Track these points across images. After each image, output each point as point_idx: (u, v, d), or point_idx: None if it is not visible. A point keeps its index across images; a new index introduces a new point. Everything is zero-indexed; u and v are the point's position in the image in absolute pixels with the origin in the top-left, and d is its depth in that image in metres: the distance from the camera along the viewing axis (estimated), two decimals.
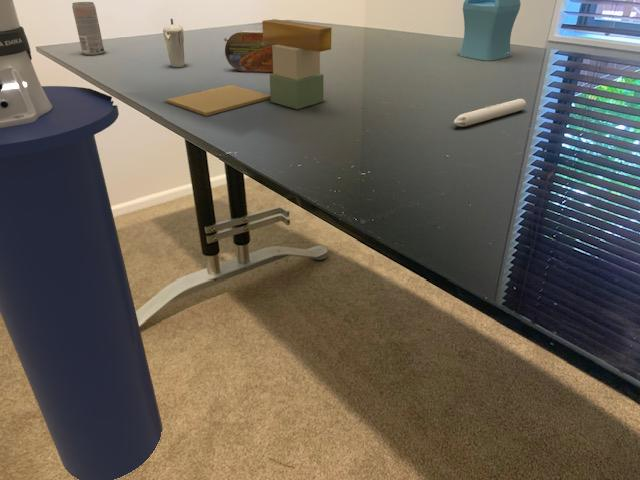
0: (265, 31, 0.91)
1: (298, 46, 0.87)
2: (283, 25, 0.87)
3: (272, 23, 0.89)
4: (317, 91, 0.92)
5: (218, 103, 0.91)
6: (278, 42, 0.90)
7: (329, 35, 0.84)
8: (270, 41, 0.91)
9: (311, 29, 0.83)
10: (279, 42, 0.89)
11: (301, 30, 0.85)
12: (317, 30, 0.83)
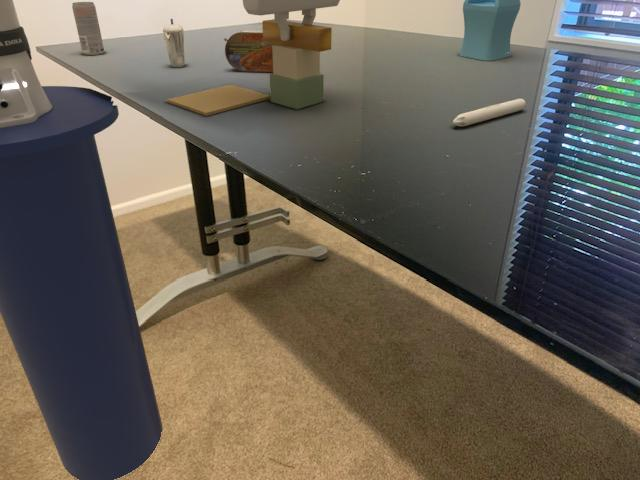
0: (265, 31, 0.91)
1: (298, 46, 0.87)
2: None
3: (272, 23, 0.89)
4: (317, 91, 0.92)
5: (218, 103, 0.91)
6: (278, 42, 0.90)
7: (329, 35, 0.84)
8: (270, 41, 0.91)
9: (311, 29, 0.83)
10: (279, 42, 0.89)
11: (301, 30, 0.85)
12: (317, 30, 0.83)
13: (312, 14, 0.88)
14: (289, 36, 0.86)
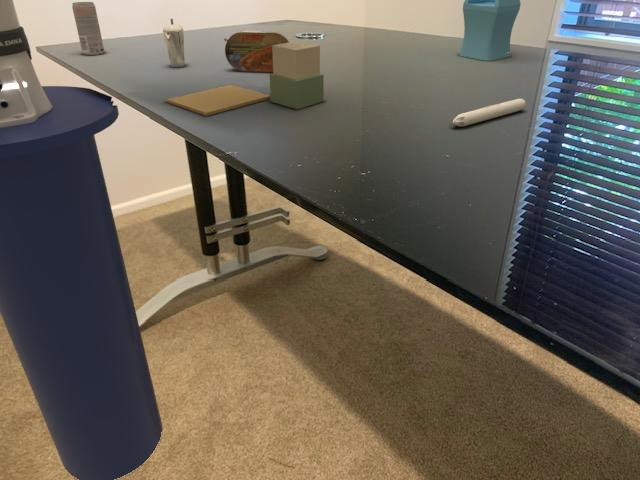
0: None
1: None
2: None
3: None
4: (317, 91, 0.92)
5: (218, 103, 0.91)
6: None
7: None
8: None
9: None
10: None
11: None
12: None
13: None
14: None
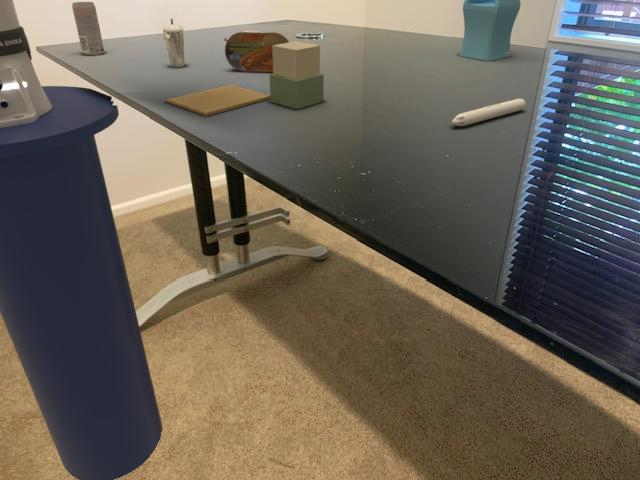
0: None
1: None
2: None
3: None
4: (317, 91, 0.92)
5: (218, 103, 0.91)
6: None
7: None
8: None
9: None
10: None
11: None
12: None
13: None
14: None
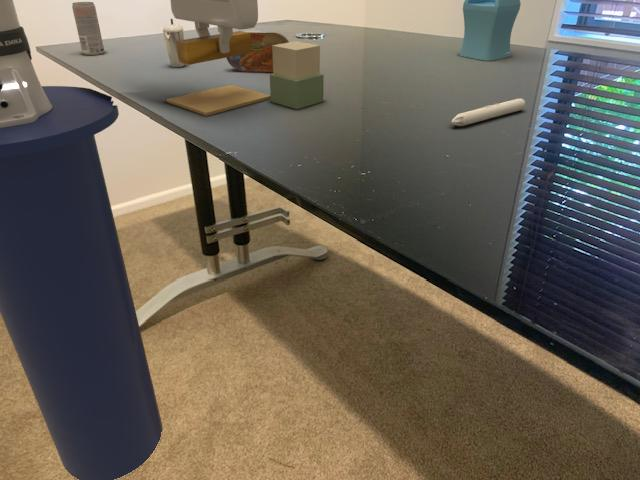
0: (191, 53, 0.85)
1: (231, 55, 0.91)
2: (213, 40, 0.87)
3: (199, 42, 0.85)
4: (317, 91, 0.92)
5: (218, 103, 0.91)
6: (208, 59, 0.88)
7: None
8: (198, 61, 0.86)
9: (242, 35, 0.91)
10: (209, 58, 0.88)
11: (232, 39, 0.90)
12: (248, 34, 0.92)
13: None
14: None
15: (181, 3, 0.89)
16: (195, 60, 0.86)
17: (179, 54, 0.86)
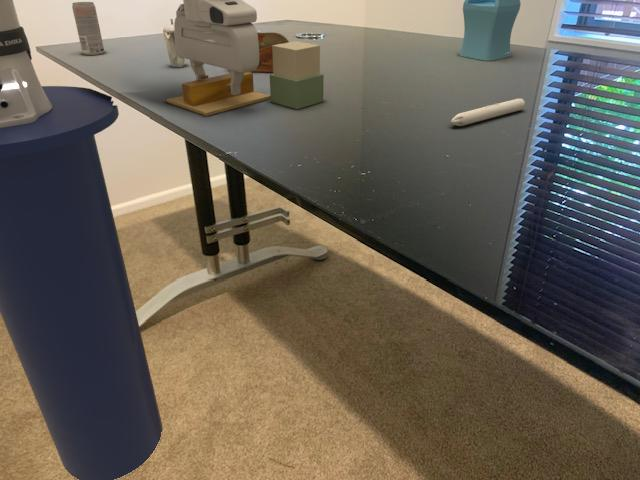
0: (196, 95, 0.89)
1: (234, 95, 0.95)
2: (217, 82, 0.91)
3: (204, 84, 0.89)
4: (317, 91, 0.92)
5: (218, 103, 0.91)
6: (212, 100, 0.92)
7: None
8: (203, 102, 0.90)
9: (245, 75, 0.95)
10: (213, 99, 0.92)
11: None
12: (251, 74, 0.96)
13: (202, 63, 0.95)
14: None
15: (185, 43, 0.92)
16: (200, 102, 0.90)
17: (184, 96, 0.90)
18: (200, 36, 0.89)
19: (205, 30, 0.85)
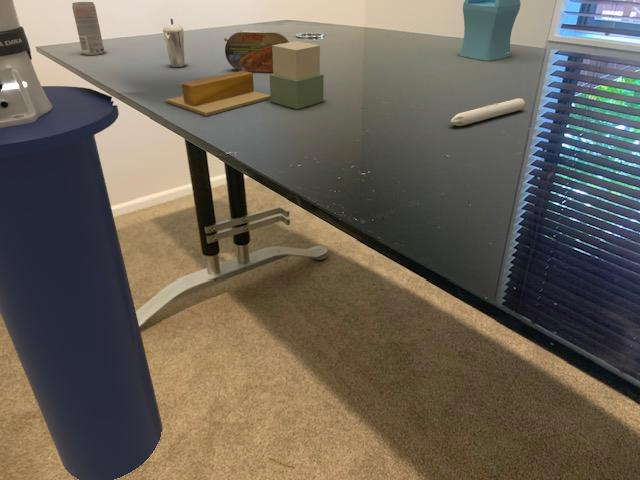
0: (196, 95, 0.89)
1: (234, 95, 0.95)
2: (217, 82, 0.91)
3: (204, 84, 0.89)
4: (317, 91, 0.92)
5: (218, 103, 0.91)
6: (212, 100, 0.92)
7: None
8: (203, 102, 0.90)
9: (245, 75, 0.95)
10: (213, 99, 0.92)
11: (235, 80, 0.94)
12: (251, 74, 0.96)
13: None
14: None
15: None
16: (200, 102, 0.90)
17: (184, 96, 0.90)
18: None
19: None
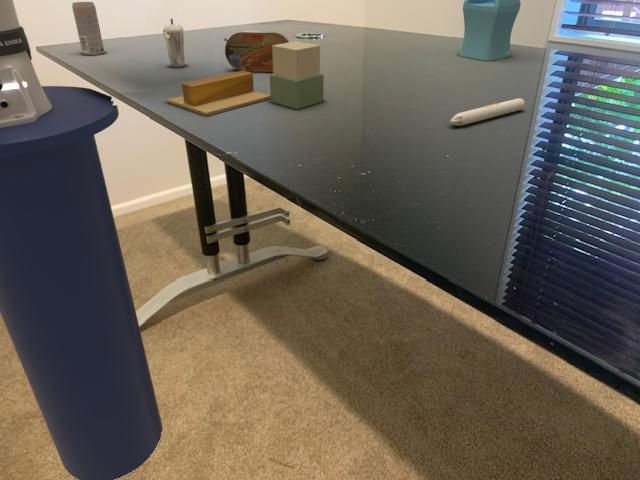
0: (196, 95, 0.89)
1: (234, 95, 0.95)
2: (217, 82, 0.91)
3: (204, 84, 0.89)
4: (317, 91, 0.92)
5: (218, 103, 0.91)
6: (212, 100, 0.92)
7: None
8: (203, 102, 0.90)
9: (245, 75, 0.95)
10: (213, 99, 0.92)
11: (235, 80, 0.94)
12: (251, 74, 0.96)
13: None
14: None
15: None
16: (200, 102, 0.90)
17: (184, 96, 0.90)
18: None
19: None
